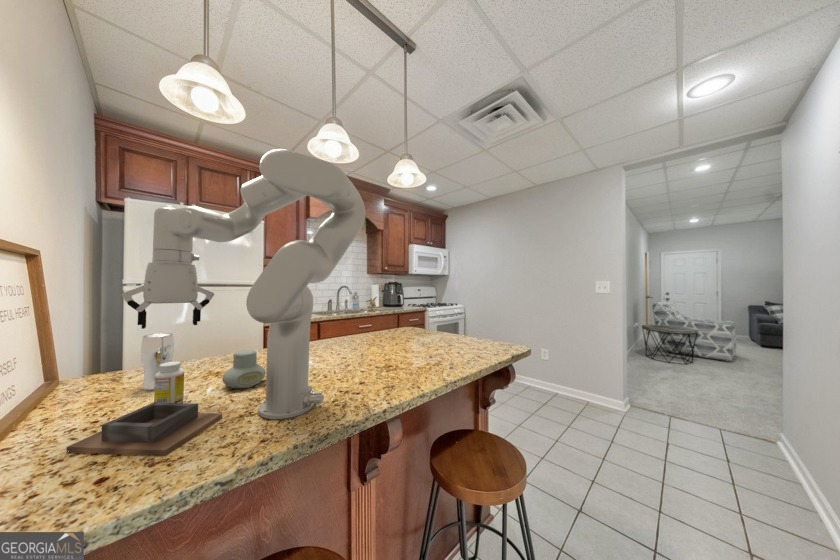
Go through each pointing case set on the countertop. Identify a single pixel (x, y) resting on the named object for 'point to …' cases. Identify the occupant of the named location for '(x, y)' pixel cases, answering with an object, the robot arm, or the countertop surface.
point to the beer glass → (155, 355)
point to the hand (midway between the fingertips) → (170, 326)
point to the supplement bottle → (169, 383)
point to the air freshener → (244, 370)
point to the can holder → (148, 430)
